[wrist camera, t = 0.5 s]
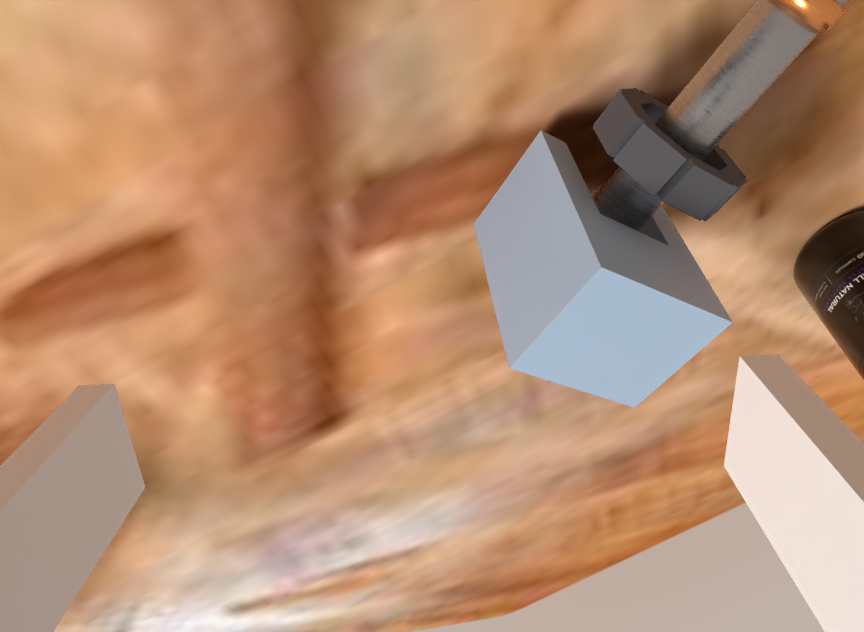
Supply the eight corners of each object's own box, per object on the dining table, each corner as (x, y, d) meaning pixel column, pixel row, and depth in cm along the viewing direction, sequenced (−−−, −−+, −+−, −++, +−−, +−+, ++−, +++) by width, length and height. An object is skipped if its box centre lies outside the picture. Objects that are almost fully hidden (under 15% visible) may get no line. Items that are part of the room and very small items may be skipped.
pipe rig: (568, 262, 39) (602, 350, 34) (466, 220, 36) (487, 309, 31) (984, -221, 24) (1152, -192, 19) (870, -357, 21) (1032, -363, 16)
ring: (679, 158, 32) (734, 237, 28) (580, 105, 30) (623, 182, 25) (706, 128, 31) (768, 205, 27) (606, 69, 29) (655, 144, 24)
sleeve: (577, 267, 38) (634, 407, 30) (473, 224, 35) (509, 368, 28) (649, 185, 34) (732, 322, 27) (540, 130, 31) (601, 267, 24)
